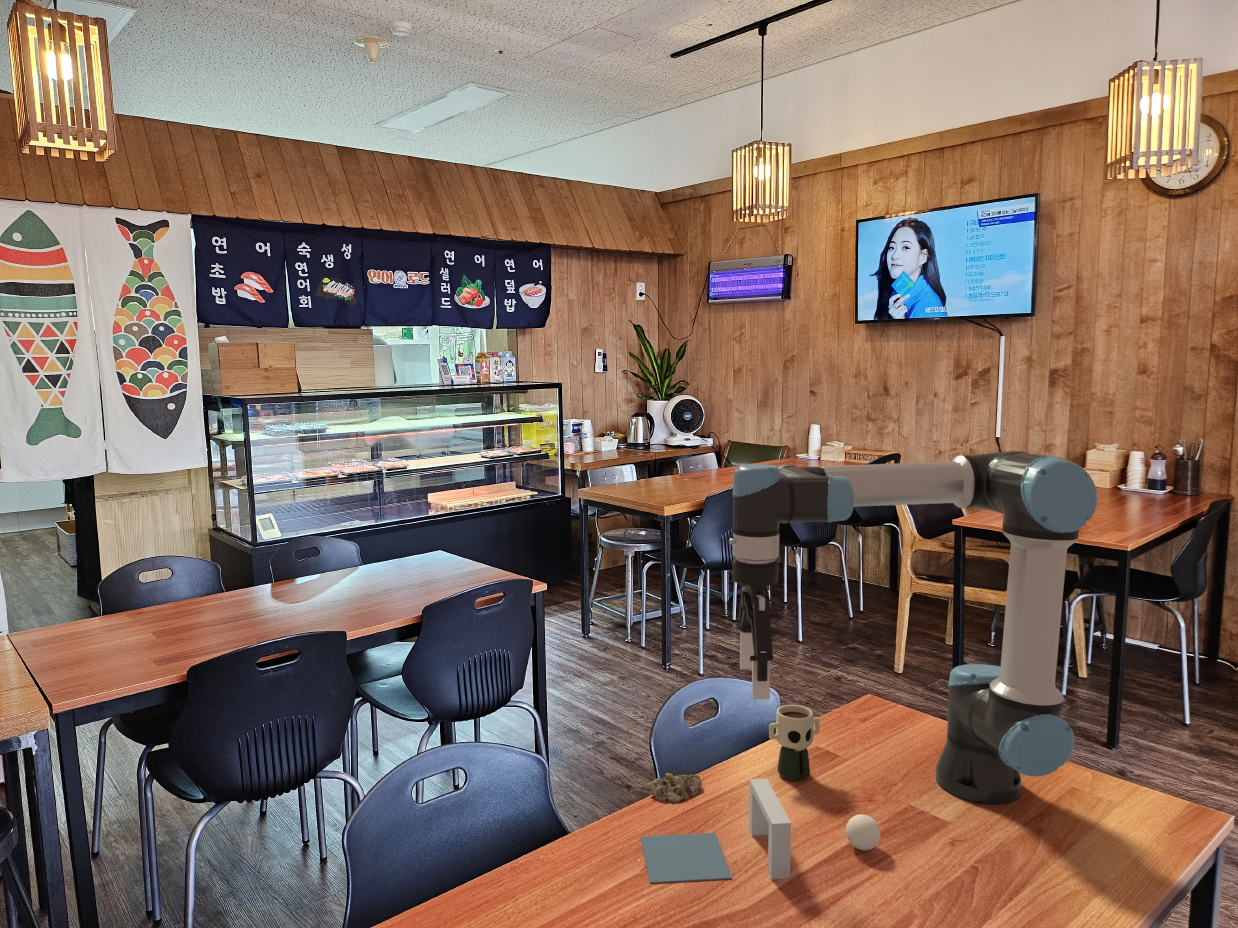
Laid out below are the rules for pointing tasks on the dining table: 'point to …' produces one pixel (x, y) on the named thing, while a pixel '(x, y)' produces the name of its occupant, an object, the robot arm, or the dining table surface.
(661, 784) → the mineral rock
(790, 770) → the character mug
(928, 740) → the dining table surface
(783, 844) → the bridge
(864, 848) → the ball
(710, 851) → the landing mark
